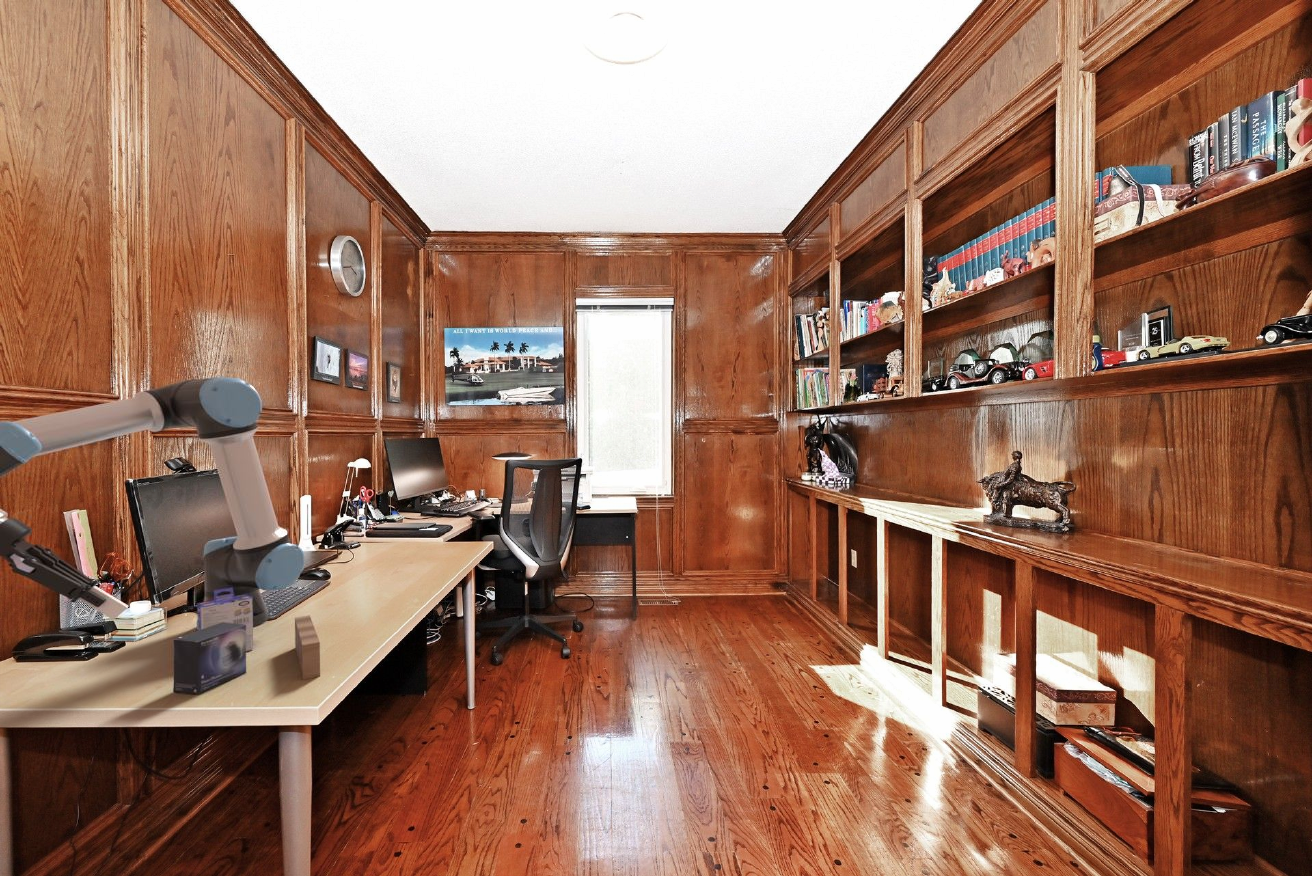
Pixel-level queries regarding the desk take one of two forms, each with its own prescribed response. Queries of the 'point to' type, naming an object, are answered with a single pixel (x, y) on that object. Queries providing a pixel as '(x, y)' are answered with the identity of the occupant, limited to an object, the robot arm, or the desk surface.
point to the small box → (209, 657)
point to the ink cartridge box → (227, 612)
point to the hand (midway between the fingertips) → (121, 612)
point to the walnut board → (307, 647)
